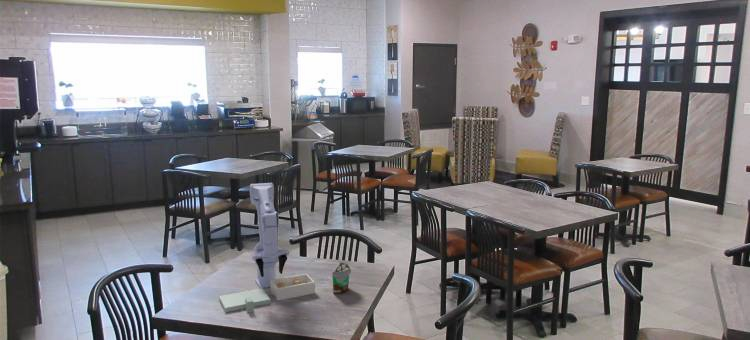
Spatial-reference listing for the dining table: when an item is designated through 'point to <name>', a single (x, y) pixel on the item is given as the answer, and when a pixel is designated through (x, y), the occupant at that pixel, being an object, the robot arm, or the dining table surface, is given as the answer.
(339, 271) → the food container
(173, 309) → the dining table surface
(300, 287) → the tub
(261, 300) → the lid
